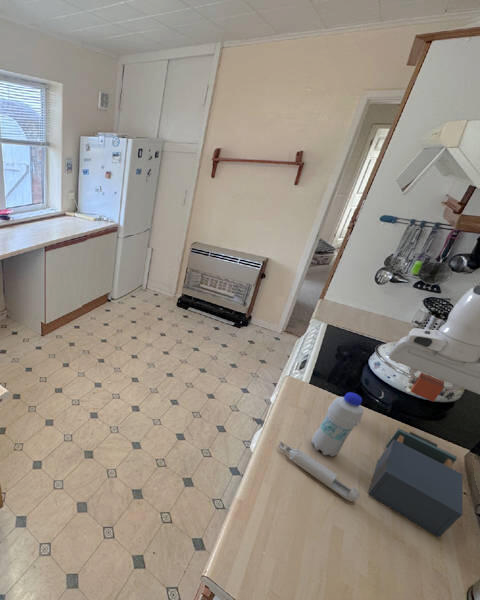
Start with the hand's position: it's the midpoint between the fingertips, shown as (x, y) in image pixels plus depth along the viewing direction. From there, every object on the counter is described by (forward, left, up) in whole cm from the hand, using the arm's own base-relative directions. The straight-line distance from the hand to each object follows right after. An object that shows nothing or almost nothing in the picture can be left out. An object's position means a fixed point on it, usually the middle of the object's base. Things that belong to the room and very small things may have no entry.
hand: (425, 388), depth 87 cm
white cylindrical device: (+35, +6, -19) cm, 40 cm away
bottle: (+25, 0, -19) cm, 32 cm away
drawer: (+6, +9, -18) cm, 22 cm away
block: (0, 0, -2) cm, 2 cm away
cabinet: (+16, +15, -19) cm, 29 cm away
